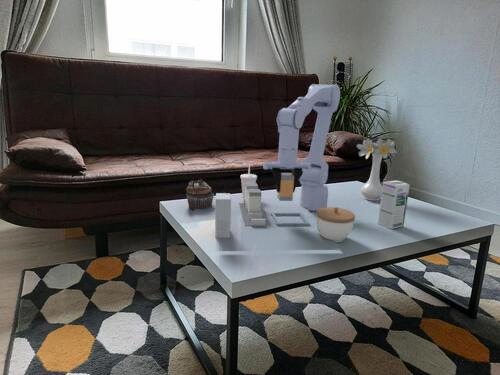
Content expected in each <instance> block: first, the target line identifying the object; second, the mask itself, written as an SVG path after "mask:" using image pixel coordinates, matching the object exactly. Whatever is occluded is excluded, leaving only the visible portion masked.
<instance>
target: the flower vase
mask: <svg viewBox="0 0 500 375" xmlns="http://www.w3.org/2000/svg"><path fill="white" fill-rule="evenodd" d="M356 148H357V149H358V150H360V151H359V152H358V156H359V157H363V156H365V159H366V160H368V159H369V158H370V154H371V155H372V165H371V171H370V175H369V179H368V180H367V181H366V182H365V183H364V184H363V185H362V186H361V188H360V192H361V194H362V196H363V198H364V199H365V200H366V201H370V202H377V201H381V195H382V187H383V184H381V180H380V171H381V170H380V169H381V163H382V159H387V158H388V154H389V153H390V155H392V156H393V157H394V158H395V157H396V155H399V153H398V151H397V150H396V149H395V142H394V141H392V140H390V138H388V139H387V140H386V142H383V138H378V140H377V141H376V142H373V141H372V139H369V138H366V139H363V141H362V143H361V144H360V143H358V144H356Z"/></svg>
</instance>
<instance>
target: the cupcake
mask: <svg viewBox="0 0 500 375" xmlns="http://www.w3.org/2000/svg"><path fill="white" fill-rule="evenodd" d="M185 191H186V193H185V196H186V200H187V204H188V208H189V209H190V210H192V211H195V209H197V210H198V209H199V210H203V209H209V208H211V207H212V206H213V200H214V197H215V194H214V193H213V192H212V187H211V186H209V184H208V183H206V181H204V180H203V179H202V178H199V179H197V180H192V179H191V180H189V182H188V186H187V187H186V189H185Z"/></svg>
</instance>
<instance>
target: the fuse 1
mask: <svg viewBox="0 0 500 375" xmlns="http://www.w3.org/2000/svg"><path fill="white" fill-rule="evenodd" d="M248 189H259V184H257V182H256V183H246V185H245V206H246V203H247V200H248Z"/></svg>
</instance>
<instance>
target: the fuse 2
mask: <svg viewBox="0 0 500 375" xmlns="http://www.w3.org/2000/svg"><path fill="white" fill-rule="evenodd" d="M261 205H262V191H261V189H259V188H258V189H248V200H247V213H248V210H261Z"/></svg>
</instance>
